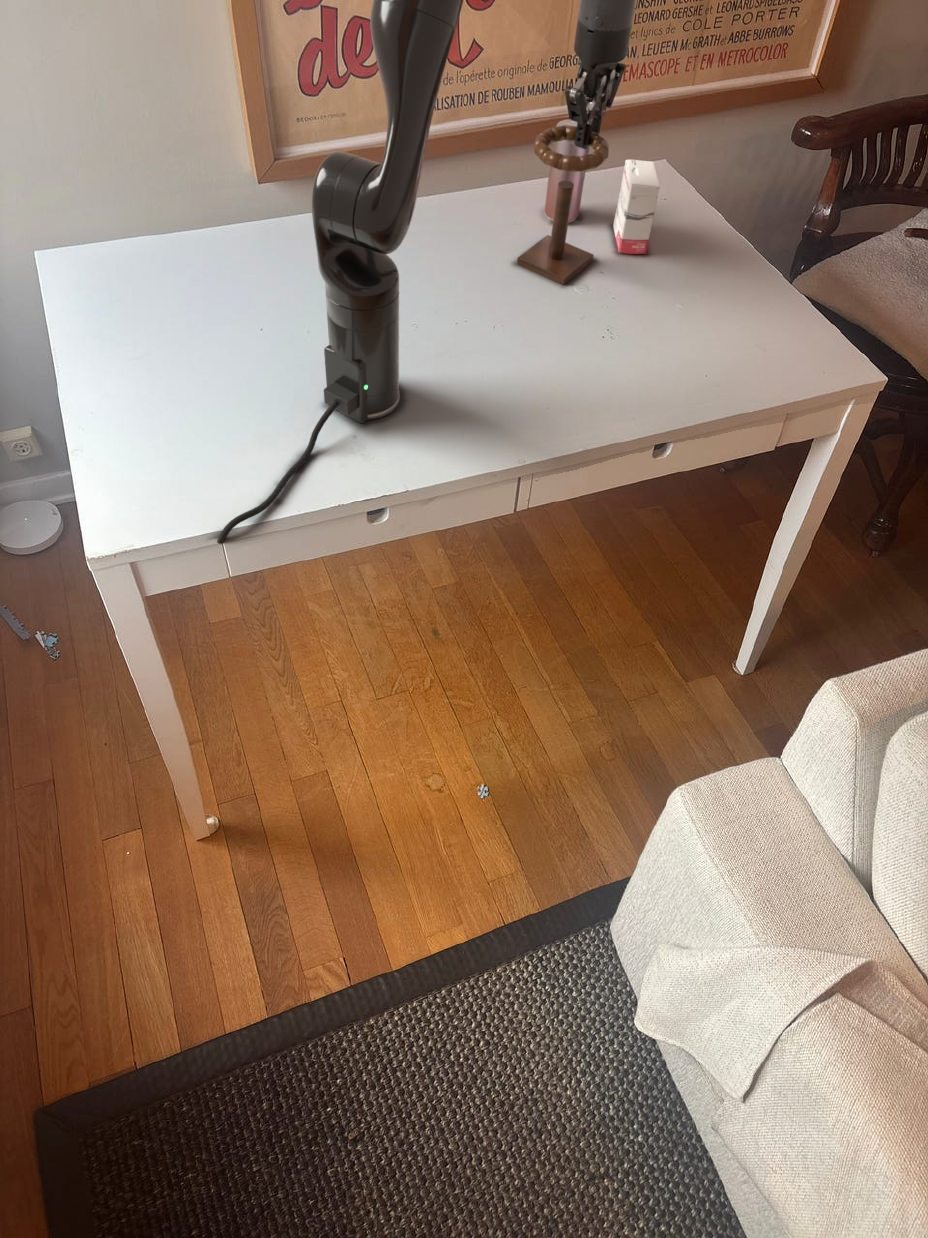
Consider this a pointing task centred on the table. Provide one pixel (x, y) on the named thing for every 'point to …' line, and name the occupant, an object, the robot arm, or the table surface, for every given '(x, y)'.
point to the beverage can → (565, 176)
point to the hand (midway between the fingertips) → (586, 142)
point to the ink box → (636, 206)
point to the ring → (570, 161)
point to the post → (557, 245)
